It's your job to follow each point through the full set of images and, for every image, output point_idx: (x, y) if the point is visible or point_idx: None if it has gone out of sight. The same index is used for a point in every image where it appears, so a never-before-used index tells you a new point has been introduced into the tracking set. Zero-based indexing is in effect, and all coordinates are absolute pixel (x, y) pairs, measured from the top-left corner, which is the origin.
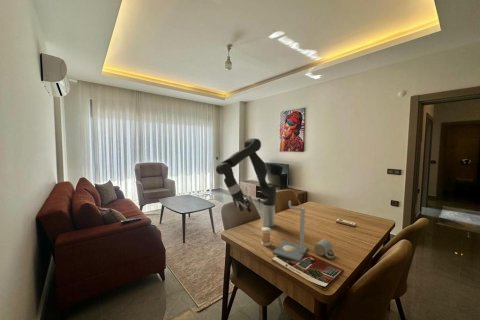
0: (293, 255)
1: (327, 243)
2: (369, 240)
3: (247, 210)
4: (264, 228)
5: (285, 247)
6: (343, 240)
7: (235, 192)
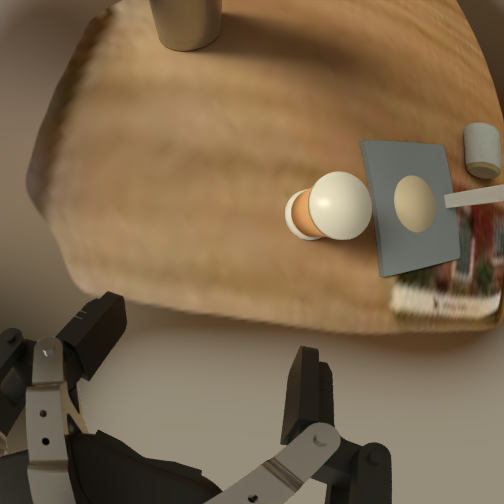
0: (442, 243)
1: (500, 147)
2: (469, 35)
3: (287, 407)
4: (332, 206)
5: (403, 205)
6: (451, 49)
7: None
